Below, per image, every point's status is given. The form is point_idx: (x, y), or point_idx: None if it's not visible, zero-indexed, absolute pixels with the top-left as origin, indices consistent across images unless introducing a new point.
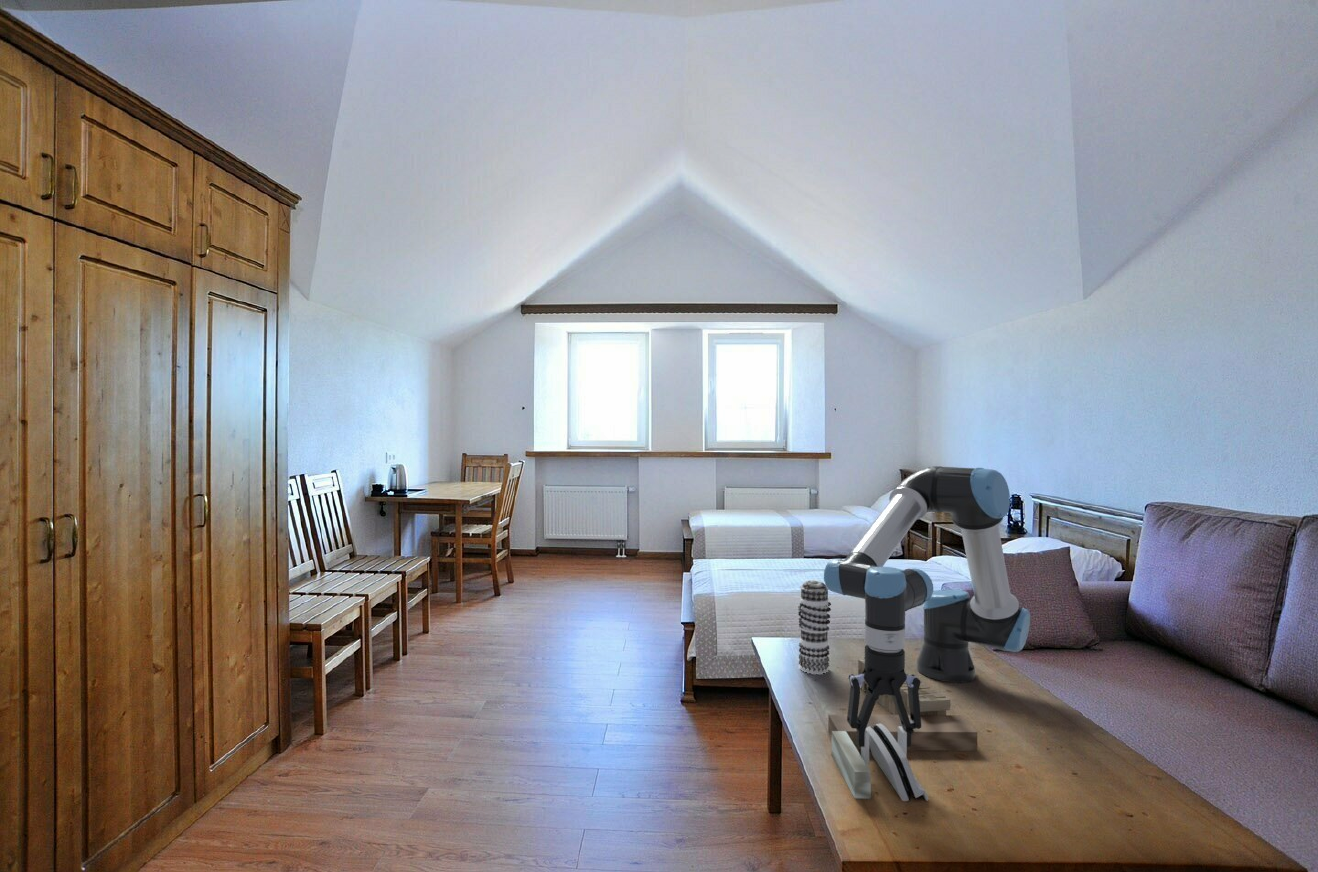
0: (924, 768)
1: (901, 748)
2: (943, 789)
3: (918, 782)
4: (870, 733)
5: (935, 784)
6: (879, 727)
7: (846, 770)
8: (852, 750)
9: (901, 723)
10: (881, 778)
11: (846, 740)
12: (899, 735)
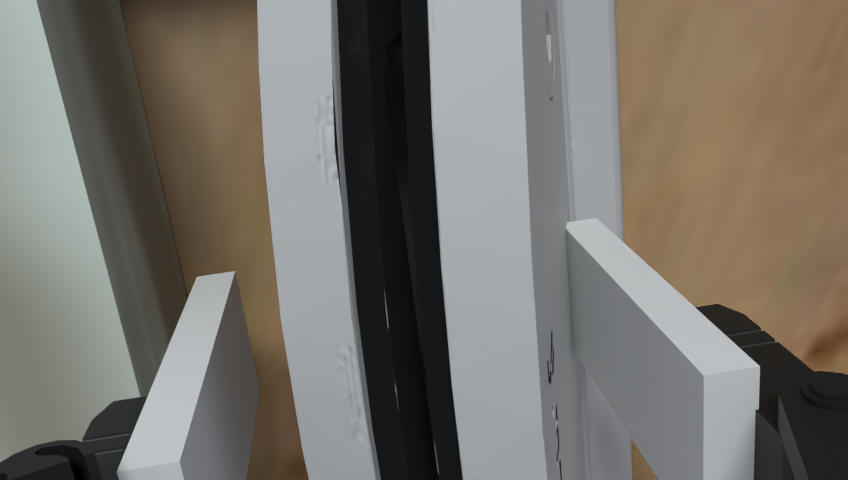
0: (778, 70)
1: (615, 385)
2: (787, 349)
3: (624, 449)
4: (291, 308)
5: (760, 296)
6: (442, 244)
7: None
8: (74, 388)
9: (783, 400)
10: None
11: (8, 159)
12: (661, 386)
